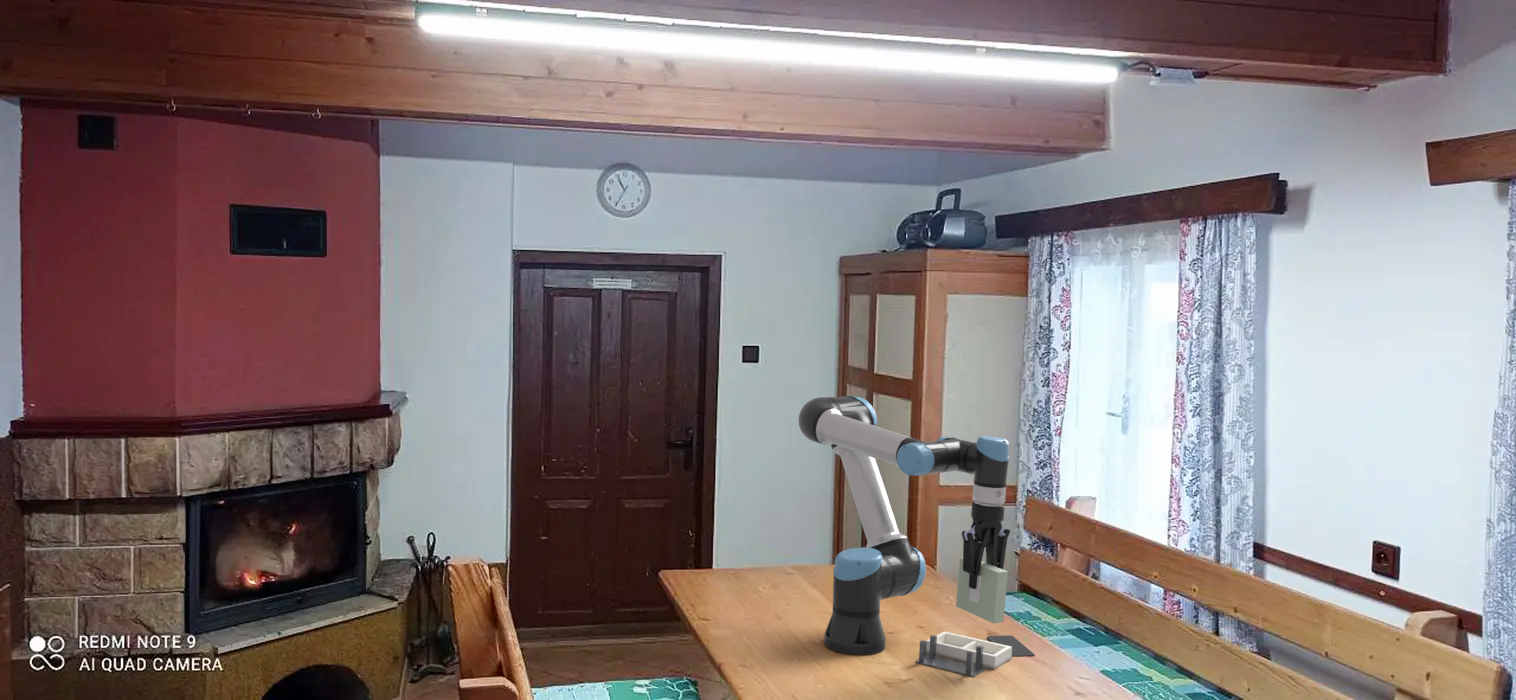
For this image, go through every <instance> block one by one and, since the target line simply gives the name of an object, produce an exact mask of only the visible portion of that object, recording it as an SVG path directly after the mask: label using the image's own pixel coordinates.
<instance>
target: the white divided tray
mask: <svg viewBox="0 0 1516 700" xmlns="http://www.w3.org/2000/svg"><path fill="white" fill-rule="evenodd" d="M935 636H937V646H936V656H938V657H942V658H946V659H950V660H954V661H958V662H963V663H966V658H967V652H968V651H972V652H974V658H973V665H975V666H976V647H977V646H983V665H982V667H984V668H986V669H988V668H989V669H991V670H996V669H998V668H999V667H1001V666H1003V665H1004V664H1005V663H1007V662H1009V661H1010V660H1012V647H1011V646H1007V645H1002V644H998V643H993V642H990V641H989V640H984V639H980V638H974V637H970V636H966V635H961V634H957V633H952V632H948V631H943V632H941V633H939V634H936V635H935ZM926 641H927V648H926V654H929V652H930V638H928V639H927V640H926Z"/></svg>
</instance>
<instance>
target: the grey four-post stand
mask: <svg viewBox="0 0 1516 700" xmlns="http://www.w3.org/2000/svg"><path fill="white" fill-rule="evenodd" d="M929 639H930V652H929V653H926V648H927V640H923V639H921V640H920V641H919V656H918V659H917V660H915V661H914V662H915V664H918V665H919V664H920V665H924V666H927V667H931V668H936V669H940V670H943V671H948V672H952V673H956V674H960V675H964V676H967V677H971V678H974V677H976V676H978V675H979V674H981V673H983V672H984V671H986V670H987V667H983V666H982V665H983V646H977V647H976V665H975V664H973V658H974V652H972V651H968V652H967V658H966V662H962V661H958V660H954V659H950V658H946V657H941V656H937V655H936V646H937V636H936V635H935V634H932V635H930V636H929Z"/></svg>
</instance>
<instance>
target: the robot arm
mask: <svg viewBox="0 0 1516 700" xmlns="http://www.w3.org/2000/svg"><path fill="white" fill-rule="evenodd" d="M877 424H878V418H877V414H876V411H875V409H874V407H873V406H872V404H871V403H870V402H869V401H868V400H867V399H865V398H863V397H860V396H853V395H845V396H844V395H843V396H830V397H827V396H825V397H823V396H822V397H816V398H813V399H811V400H809V401H807V402H806V403H805V404H804V405H803V406H802V408H801V409H800V411H799V415H798V426H799V430H800V432H801V433H802V434H803V436H804V437H805V438H807V439H808V440H810V441H811V442H814V443H817V444H821V445H823V446H831V450H832V452H833V453H834V454H836V455H838V456H839V457H840V459H841V463H842V467H843V469H844V472H845V475H846V479H847V482H848V484H849V488H850V491H851V494H852V497H853V500H854V503H855V506H856V510H857V513H858V516H859V519H860V522H861V526H862V529H863V531H864V535H865V538H866V540H867V541H866V542H867V543H866V546H865V547H859V548H857V547H852V548H847V549H844V550H842V551H840V552H839V553H838V554H837V555H836V557H835V560H834V567H833V571H832V572H833V582H832V583H833V587H832V590H833V591H832V613H831V616H830V618H829V621H828V624H827V627H826V630H825V633H824V637H823V644H824V646H825V647H826V648H827V649H829V650H830V651H831V650H832V651H834V652H837V653H840V654H842V653H843V654H846V655H847V654H848V655H859V656H860V655H861V656H862V655H865V656H866V655H872V654H877V653H880V652H883V651H885V649H886V636H885V633H884V628H883V624H882V622H881V616H880V611H881V610H880V609H881V600H885V599H889V598H896V597H899V596H900V597H902V596H903V597H904V596H906V595H909V594H911V593H913V592H916V591H918V589H920V588H921V586H922V585H923V583H924V579H925V578H926V574H927V566H926V565H927V564H926V560H925V558H924V555H923V554H922V552H921V551H920V550H918V549H917V548H916V547H914V546H911V545H910V541H909V538H908V536H906V535H904V534H902V533H901V532H900V531H899V527H898V523H897V521H896V517H895V515H894V512H893V509H892V506H891V501H890V500H889V496H888V492H887V490H886V487H885V484H884V481H883V477H882V475H881V472H880V469H879V466H878V463H877V460H879V461H881V462H885V463H887V464H889V465H893V466H896V467H898V468H899V469H900V471H902V473H903V474H905V475H907V476H916V477H920V476H924V475H932V474H934V475H935V474H941V473H950V472H951V473H952V472H961V473H965V474H970V475H973V489H972V497H971V498H972V499H971V500H973V502H972V503H971V512H970V514H971V515H970V516H971V518H972V523H971V526H970V528H969V529H968V530H963V531H962V532H961V536H962V540H963V543H962V544H963V549H962V551H963V552H962V557H963V571H965V572H967V573H969V587H970V596H969V600H970V601H972V602H975V603H979V602H980V590H981V578H982V576H980V575H979V572H980V567H981V562H983V556H984V553H985V558H986V560H985V561H986V562H985V563H987V564H990V565H993V566H995V567H998V568H1000V569H1003V570H1004V566H1005V557H1006V551H1007V542H1008V538H1009V535H1010V533H1011V531H1010V529H1009V528H1005V527H1004V526H1003V525H1002V522H1003V521H1004V519H1005V506H1004V504H1005V502H1006V493H1007V492H1006V491H1007V478H1008V477H1007V476H1008V469H1009V462H1010V442H1009V440H1007V439H1006V438H1004V437H999V436H991V435H982V436H979V437H977V440H976V442H973V441H969V440H964V439H959V438H956V437H954V436H953V437H952V436H951V437H949V436H942V437H939V438H938V439H937V440H933V441H923V440H920V439H917V438H913V437H911V436H907V435H904V434H901V433H898V432H896V431H891V430H889V429H886V428H883V427H879V426H877ZM984 551H985V552H984ZM974 569H975V570H974Z"/></svg>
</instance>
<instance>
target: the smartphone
mask: <svg viewBox="0 0 1516 700" xmlns="http://www.w3.org/2000/svg"><path fill="white" fill-rule="evenodd" d="M986 639H987V641H989V642H993V643H998V644H1002V645H1007V646H1011V647H1012V657H1014V658H1015V657H1017V658H1018V657H1020V658H1021V657H1024V656H1027V657H1035V653H1034V652H1033V651H1031V650H1030V649H1029V648H1028V647H1027V646H1025V644H1023V643H1022V642H1021V641H1019V640H1018V639H1017V638H1016V637H1014V636H1013V635H1005V634H1003V635H1002V634H1001V635H1000V634H999V635H987V636H986ZM1012 657H1011V658H1012Z"/></svg>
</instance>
